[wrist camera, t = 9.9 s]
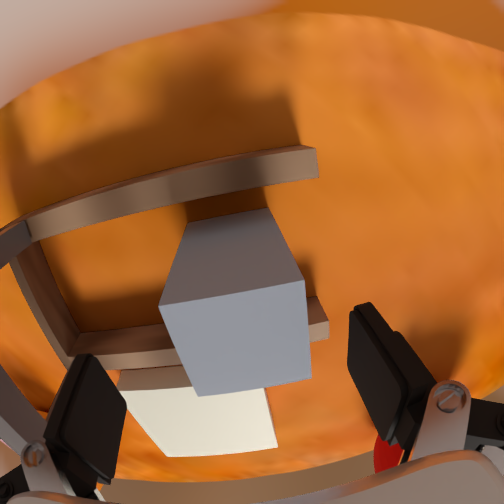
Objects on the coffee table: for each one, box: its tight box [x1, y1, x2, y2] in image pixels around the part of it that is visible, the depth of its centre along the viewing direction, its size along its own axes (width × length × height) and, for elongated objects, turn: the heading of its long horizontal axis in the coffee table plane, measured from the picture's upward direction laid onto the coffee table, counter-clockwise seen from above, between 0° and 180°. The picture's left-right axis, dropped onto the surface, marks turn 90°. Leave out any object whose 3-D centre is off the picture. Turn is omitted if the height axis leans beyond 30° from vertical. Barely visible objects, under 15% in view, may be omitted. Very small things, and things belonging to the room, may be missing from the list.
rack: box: [0, 145, 329, 371], centre depth 17 cm, size 20×12×3 cm, turn 99°
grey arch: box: [0, 221, 74, 456], centre depth 12 cm, size 3×12×9 cm, turn 9°
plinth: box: [116, 365, 278, 457], centre depth 24 cm, size 12×12×2 cm
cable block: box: [158, 208, 312, 397], centre depth 15 cm, size 5×5×9 cm
